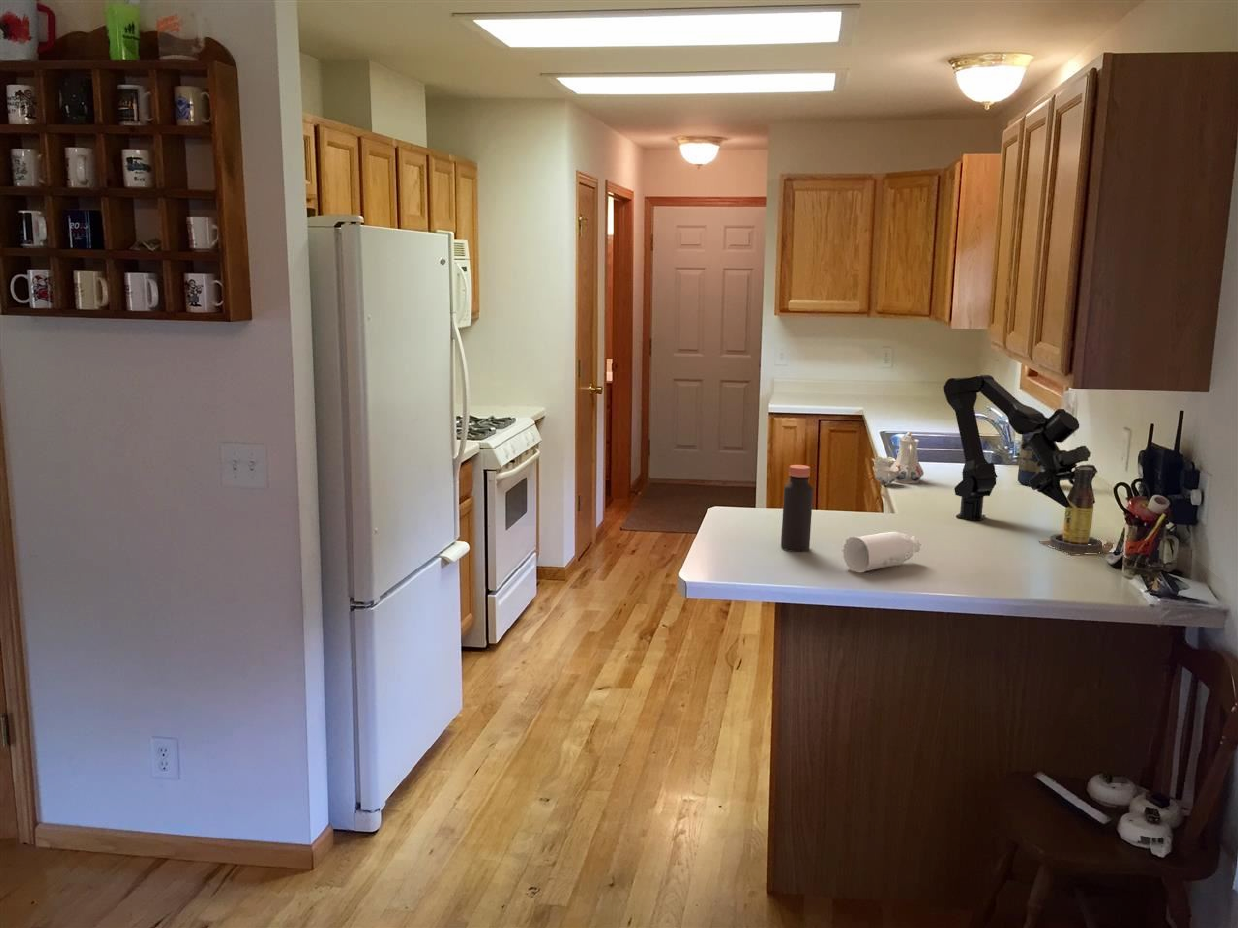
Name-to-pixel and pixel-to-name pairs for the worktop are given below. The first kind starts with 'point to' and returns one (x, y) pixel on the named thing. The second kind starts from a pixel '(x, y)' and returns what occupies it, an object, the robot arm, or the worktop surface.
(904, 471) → the chinaware
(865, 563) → the white bottle
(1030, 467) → the candle
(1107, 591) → the worktop surface
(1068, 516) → the sauce bottle
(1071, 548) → the cup bracket
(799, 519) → the vinegar
